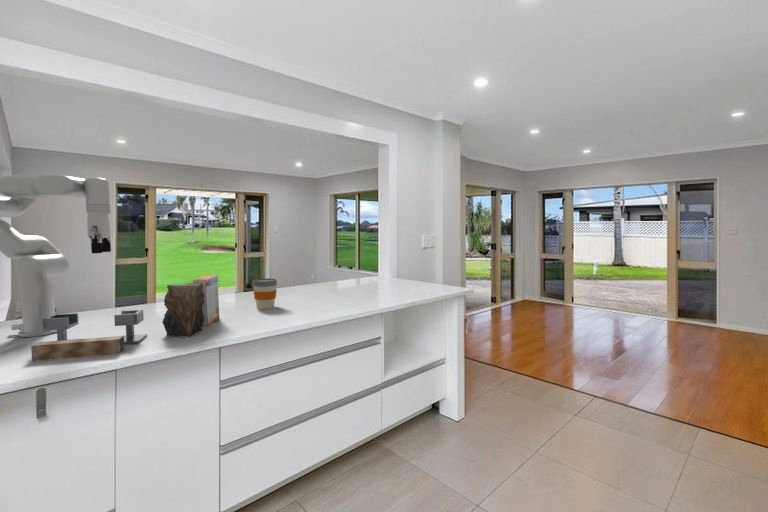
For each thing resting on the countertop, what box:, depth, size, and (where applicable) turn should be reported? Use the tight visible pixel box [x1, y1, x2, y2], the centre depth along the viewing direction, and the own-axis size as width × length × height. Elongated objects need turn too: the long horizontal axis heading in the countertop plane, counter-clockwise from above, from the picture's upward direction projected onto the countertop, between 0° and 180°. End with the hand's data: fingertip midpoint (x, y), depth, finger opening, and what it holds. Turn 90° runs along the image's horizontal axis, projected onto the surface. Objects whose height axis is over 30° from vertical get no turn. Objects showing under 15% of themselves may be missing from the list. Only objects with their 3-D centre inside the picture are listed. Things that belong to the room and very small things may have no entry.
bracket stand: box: [43, 309, 148, 346], centre depth 134 cm, size 29×10×11 cm, turn 108°
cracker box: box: [192, 274, 220, 327], centre depth 164 cm, size 14×6×21 cm, turn 5°
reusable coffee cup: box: [252, 278, 278, 310], centre depth 197 cm, size 13×13×15 cm
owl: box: [161, 282, 204, 338], centre depth 149 cm, size 13×13×20 cm
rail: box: [30, 335, 125, 362], centre depth 121 cm, size 24×4×5 cm, turn 108°
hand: (101, 252), depth 145 cm, fingers open, 9 cm apart
